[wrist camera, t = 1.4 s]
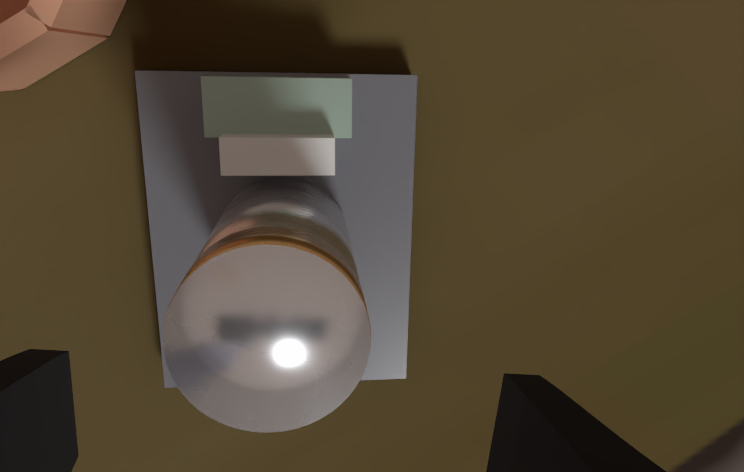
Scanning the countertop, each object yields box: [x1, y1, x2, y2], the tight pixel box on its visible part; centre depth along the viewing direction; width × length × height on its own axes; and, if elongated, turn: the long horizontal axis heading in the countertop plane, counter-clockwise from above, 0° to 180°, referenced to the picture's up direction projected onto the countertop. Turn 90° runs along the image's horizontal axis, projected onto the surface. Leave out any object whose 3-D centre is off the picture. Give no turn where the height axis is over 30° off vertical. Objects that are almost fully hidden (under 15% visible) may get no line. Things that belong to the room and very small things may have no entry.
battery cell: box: [163, 177, 371, 432], centre depth 15 cm, size 4×4×7 cm
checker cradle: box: [135, 70, 417, 388], centre depth 17 cm, size 8×10×3 cm
